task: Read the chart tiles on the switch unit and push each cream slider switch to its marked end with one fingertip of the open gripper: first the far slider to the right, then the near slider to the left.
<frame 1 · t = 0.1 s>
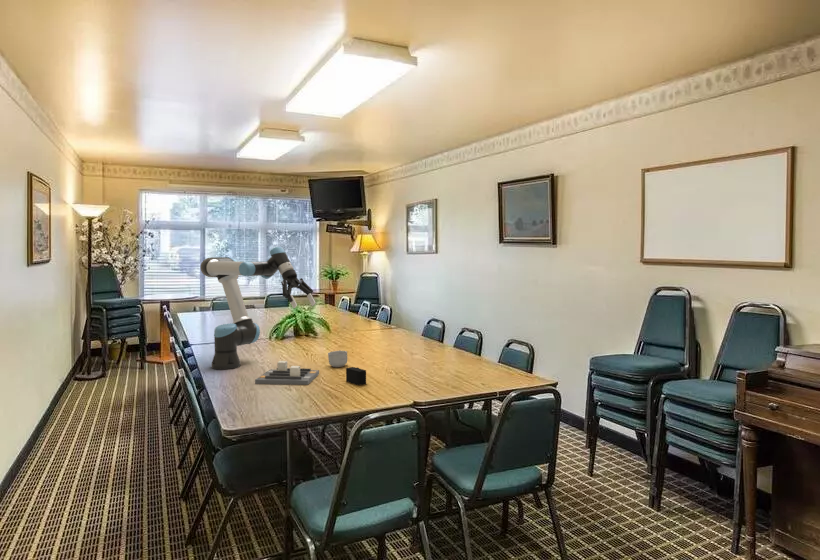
hand: (304, 305, 266), 36 cm above the table, tool tilted 35°, fingers open, 13 cm apart
digital camera: (357, 383, 248), on the table
slider far: (282, 366, 262), point 5 cm above the table, slide at 0.0 cm
teacup: (338, 365, 286), on the table
slider near: (295, 371, 250), point 5 cm above the table, slide at 10.0 cm
switch base: (288, 378, 256), on the table
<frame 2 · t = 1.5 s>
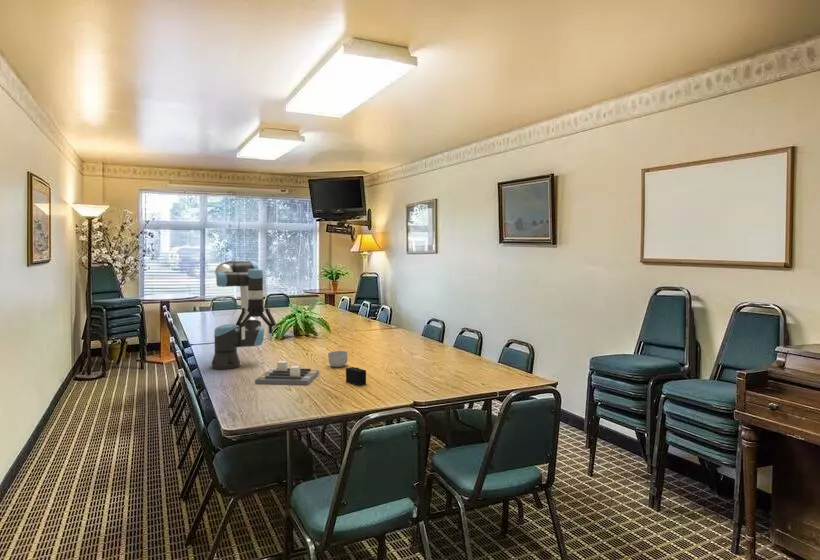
hand: (256, 339, 262), 19 cm above the table, tool pointing down, fingers open, 13 cm apart
nothing on the table moved.
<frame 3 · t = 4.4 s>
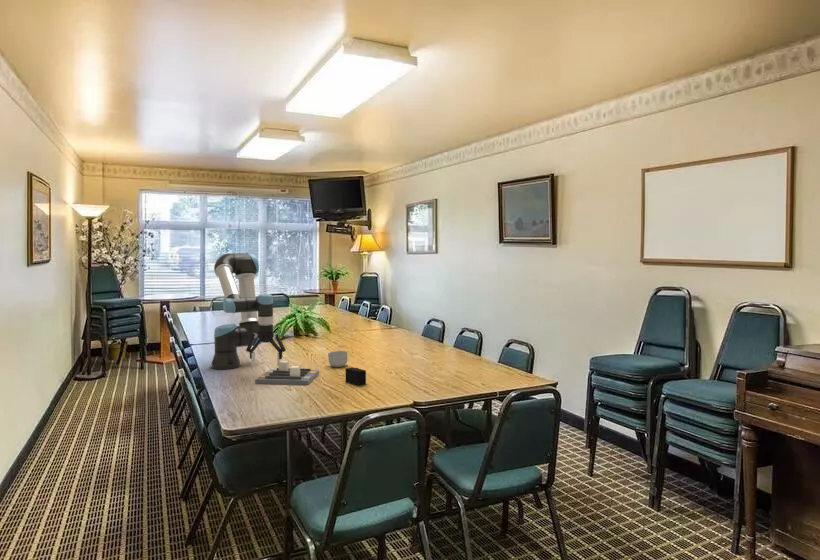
hand: (266, 365, 262), 5 cm above the table, tool pointing down, fingers open, 13 cm apart
slider far: (283, 366, 262), point 5 cm above the table, slide at 0.7 cm, touching gripper
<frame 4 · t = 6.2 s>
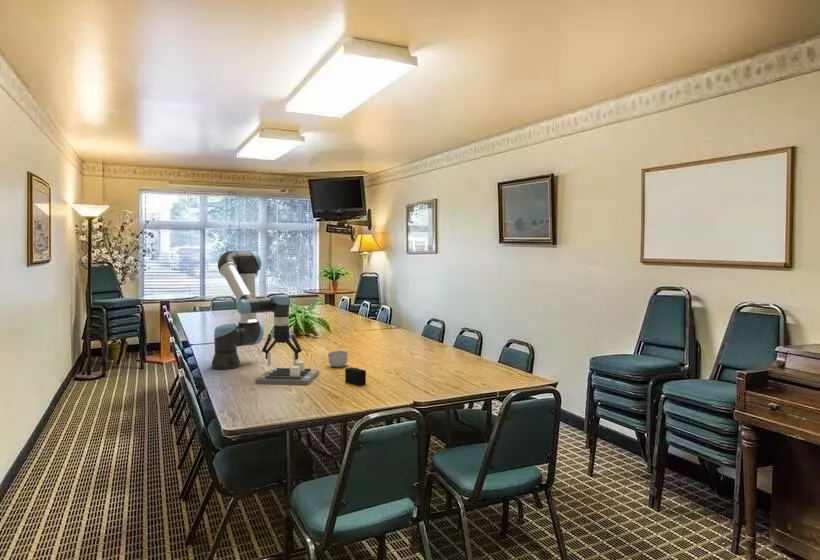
hand: (282, 365, 262), 5 cm above the table, tool pointing down, fingers open, 13 cm apart
slider far: (299, 366, 261), point 5 cm above the table, slide at 9.0 cm, touching gripper
everything else where it was.
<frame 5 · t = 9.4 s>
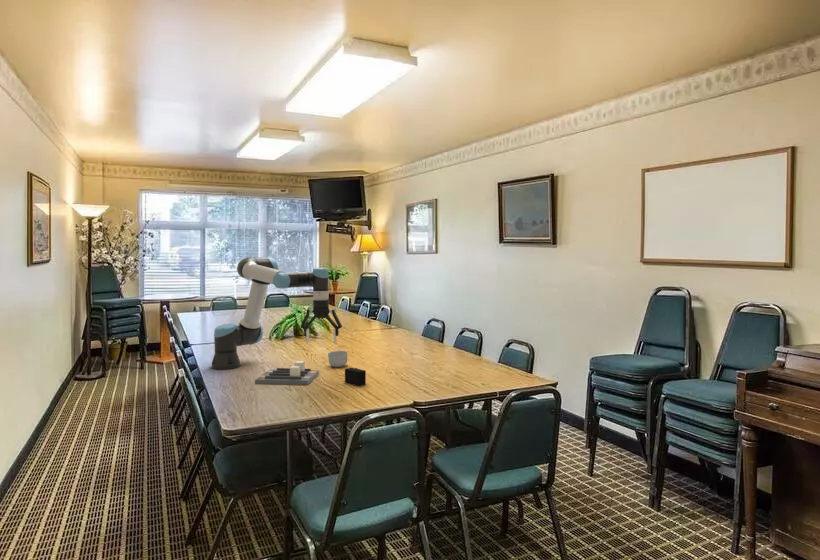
hand: (321, 342, 249), 20 cm above the table, tool pointing down, fingers open, 13 cm apart
slider far: (299, 366, 261), point 5 cm above the table, slide at 9.2 cm
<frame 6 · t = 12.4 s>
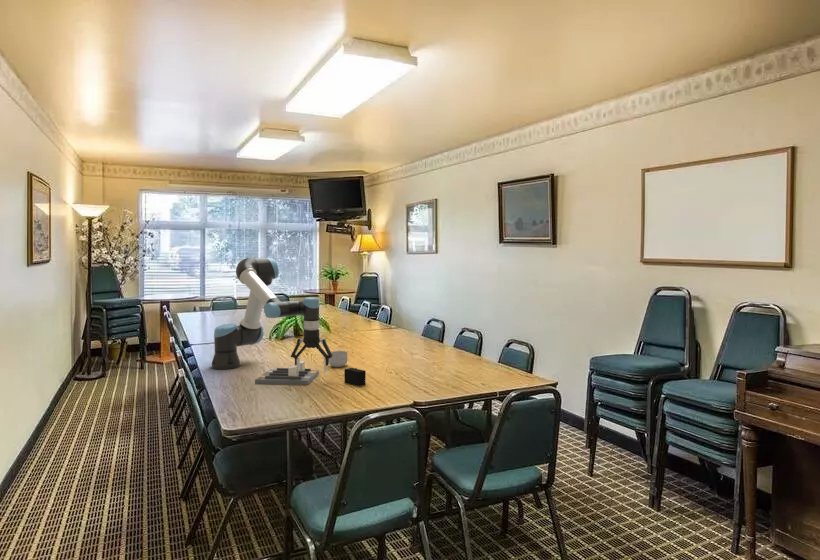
hand: (311, 371, 250), 5 cm above the table, tool pointing down, fingers open, 13 cm apart
slider near: (293, 371, 250), point 5 cm above the table, slide at 9.2 cm, touching gripper
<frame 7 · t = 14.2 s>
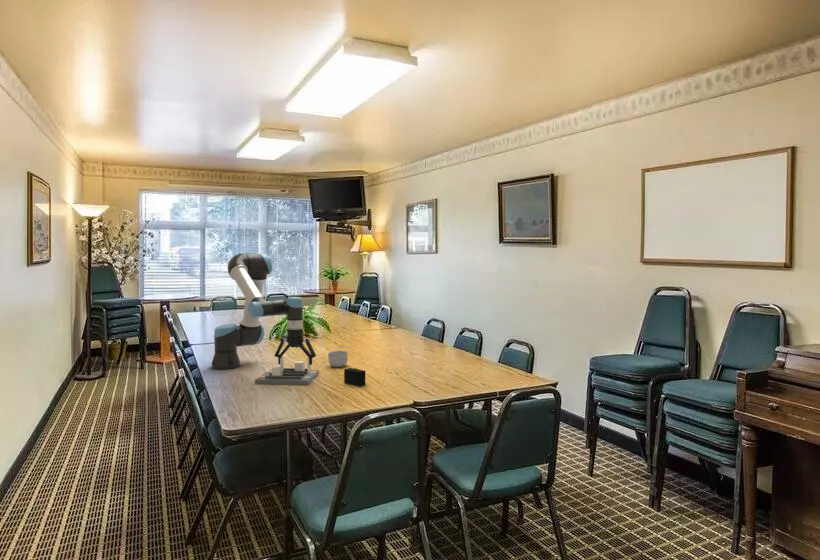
hand: (295, 371, 250), 5 cm above the table, tool pointing down, fingers open, 13 cm apart
slider near: (277, 371, 251), point 5 cm above the table, slide at 1.0 cm, touching gripper
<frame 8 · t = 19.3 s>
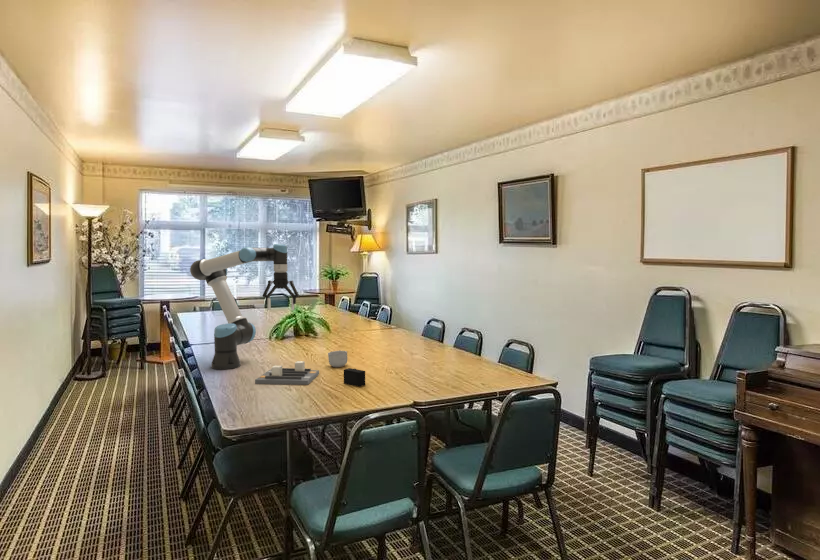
hand: (281, 309, 284), 32 cm above the table, tool pointing down, fingers open, 13 cm apart
slider near: (277, 371, 251), point 5 cm above the table, slide at 0.9 cm
at the end: slider far slide at 9.2 cm; slider near slide at 0.9 cm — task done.
